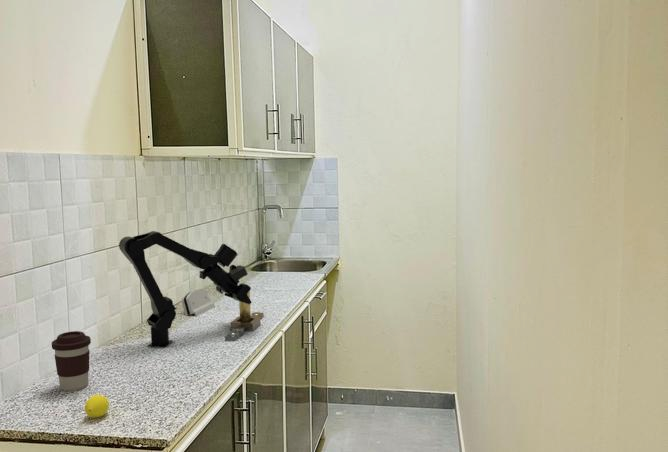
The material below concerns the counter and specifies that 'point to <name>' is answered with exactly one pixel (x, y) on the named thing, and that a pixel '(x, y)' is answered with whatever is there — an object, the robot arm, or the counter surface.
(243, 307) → the brass pin
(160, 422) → the counter surface
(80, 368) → the coffee cup
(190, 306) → the light grey block
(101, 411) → the lemon
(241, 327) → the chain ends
